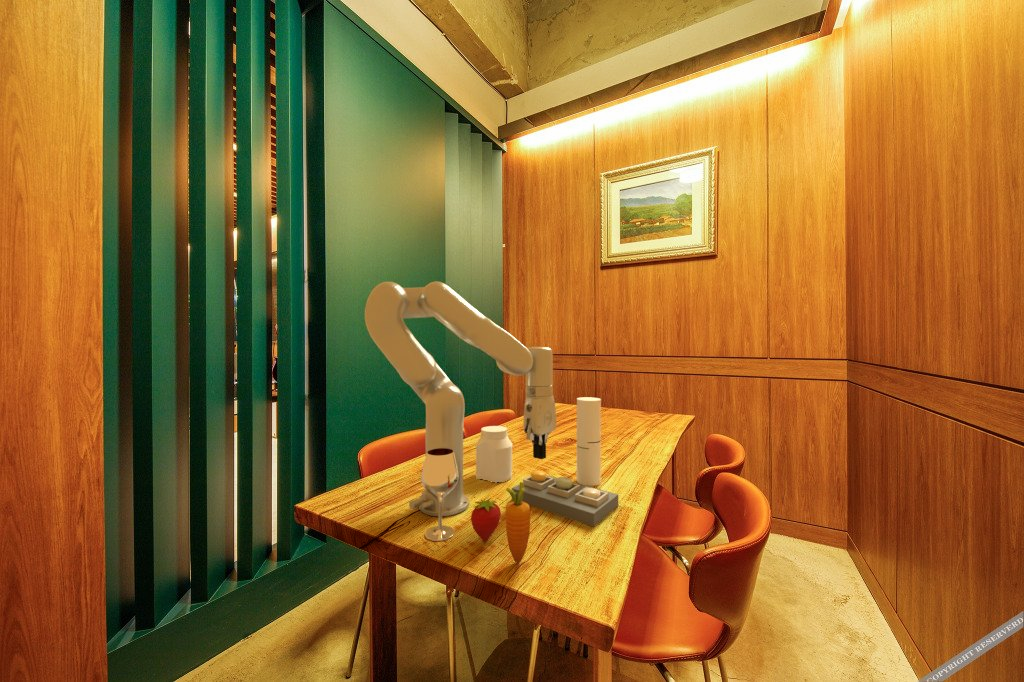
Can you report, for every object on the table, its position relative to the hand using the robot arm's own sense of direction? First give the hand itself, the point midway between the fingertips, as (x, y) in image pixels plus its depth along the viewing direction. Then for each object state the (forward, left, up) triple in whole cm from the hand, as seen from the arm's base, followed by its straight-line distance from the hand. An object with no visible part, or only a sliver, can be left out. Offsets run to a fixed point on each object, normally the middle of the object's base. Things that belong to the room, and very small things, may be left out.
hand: (539, 457), depth 103 cm
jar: (+3, +19, -11) cm, 22 cm away
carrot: (-29, -15, -11) cm, 34 cm away
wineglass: (-31, +5, -11) cm, 33 cm away
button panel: (0, -8, -10) cm, 13 cm away
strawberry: (-27, -5, -10) cm, 30 cm away
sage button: (0, -8, -6) cm, 10 cm away
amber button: (0, 0, -6) cm, 6 cm away
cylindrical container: (+18, -6, -10) cm, 21 cm away
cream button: (0, -16, -7) cm, 17 cm away
